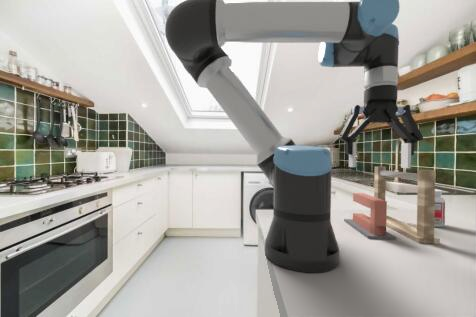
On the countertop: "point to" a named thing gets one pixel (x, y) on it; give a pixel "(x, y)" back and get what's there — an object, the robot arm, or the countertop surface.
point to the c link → (378, 214)
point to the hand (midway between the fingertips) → (378, 167)
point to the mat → (367, 233)
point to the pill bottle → (439, 209)
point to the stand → (424, 204)
